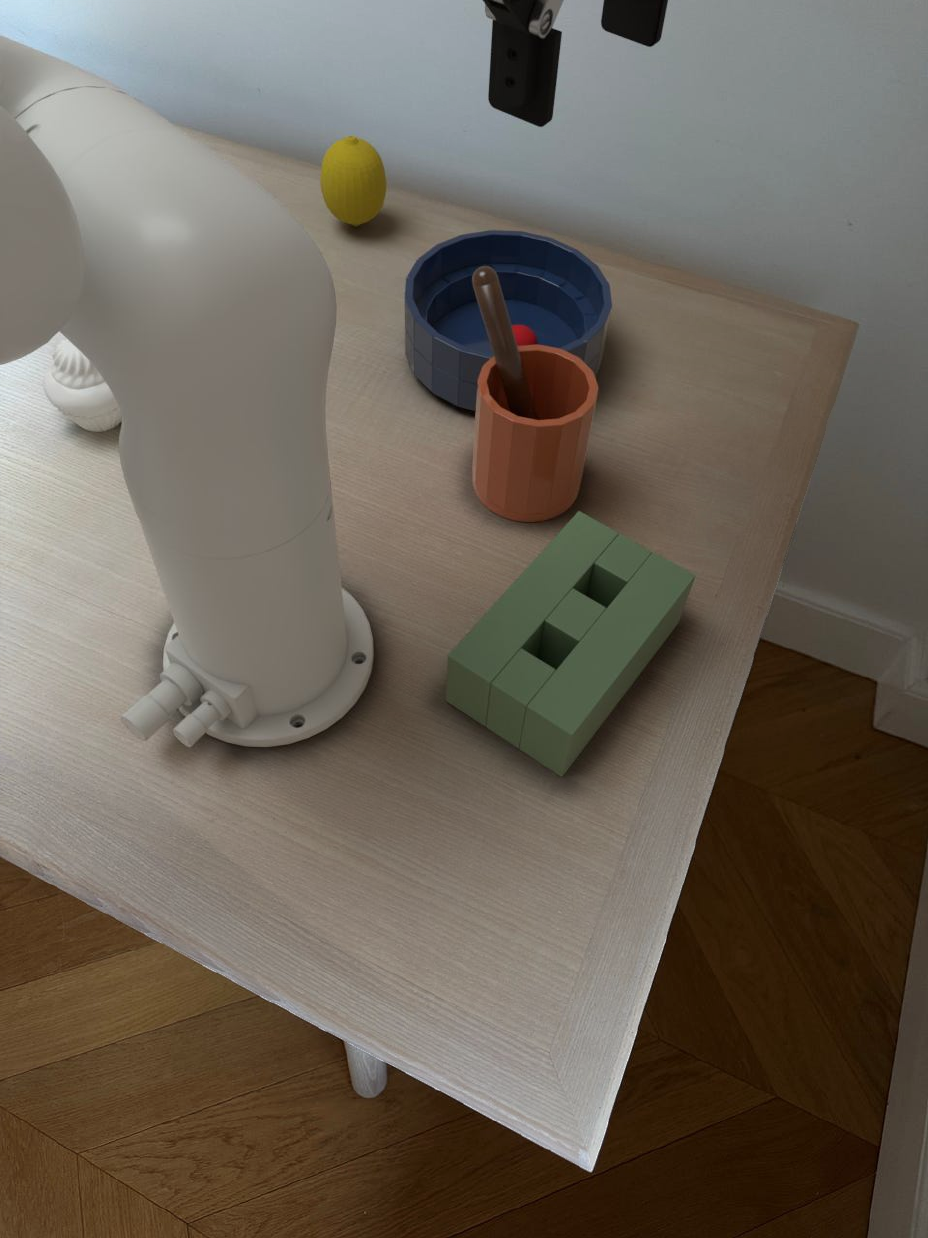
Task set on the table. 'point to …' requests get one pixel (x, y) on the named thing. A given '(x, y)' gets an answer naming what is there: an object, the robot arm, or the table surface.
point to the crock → (533, 436)
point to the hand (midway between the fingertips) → (577, 73)
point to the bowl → (533, 293)
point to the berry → (524, 335)
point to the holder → (567, 641)
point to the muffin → (80, 390)
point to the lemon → (353, 180)
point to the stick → (503, 342)
